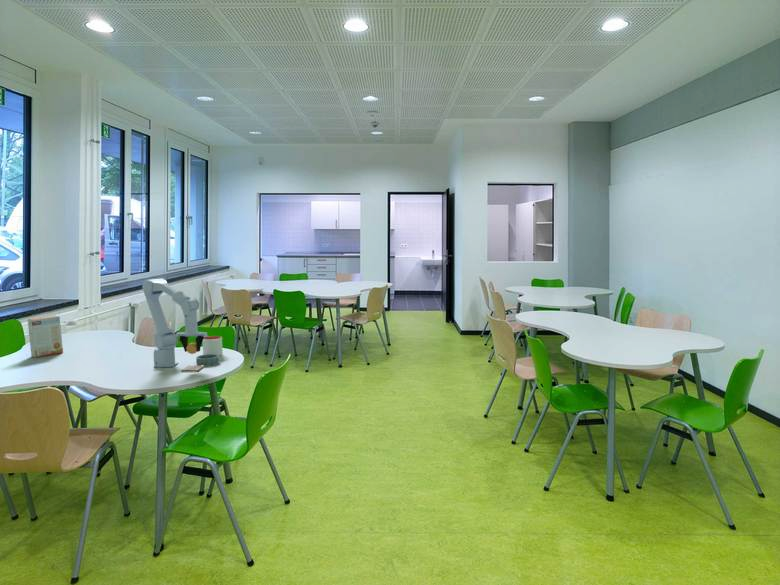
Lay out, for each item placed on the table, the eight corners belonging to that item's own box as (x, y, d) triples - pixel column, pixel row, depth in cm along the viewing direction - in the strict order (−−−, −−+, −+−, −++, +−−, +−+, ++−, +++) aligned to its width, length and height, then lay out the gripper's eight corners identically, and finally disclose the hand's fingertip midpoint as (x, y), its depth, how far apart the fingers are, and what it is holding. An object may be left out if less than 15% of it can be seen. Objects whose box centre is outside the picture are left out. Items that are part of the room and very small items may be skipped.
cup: (216, 358, 282) (215, 340, 280) (199, 357, 284) (198, 339, 282) (226, 354, 291) (225, 336, 290) (209, 353, 293) (208, 335, 292)
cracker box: (58, 351, 300) (55, 315, 297) (63, 353, 296) (60, 316, 294) (30, 356, 288) (27, 318, 286) (35, 358, 285) (32, 319, 282)
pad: (181, 371, 256) (181, 370, 256) (188, 367, 264) (188, 365, 264) (198, 371, 256) (197, 370, 256) (204, 367, 264) (204, 365, 263)
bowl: (193, 365, 266) (193, 359, 266) (201, 360, 277) (201, 354, 276) (214, 365, 266) (214, 359, 266) (221, 360, 277) (221, 354, 276)
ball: (184, 355, 256) (184, 343, 256) (189, 352, 262) (188, 341, 261) (196, 355, 256) (195, 343, 256) (200, 352, 262) (199, 341, 261)
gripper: (172, 325, 254) (174, 353, 255) (202, 325, 253) (204, 353, 255) (178, 322, 261) (180, 349, 262) (208, 322, 260) (209, 349, 262)
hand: (192, 351), depth 259 cm, fingers closed on ball, 5 cm apart
